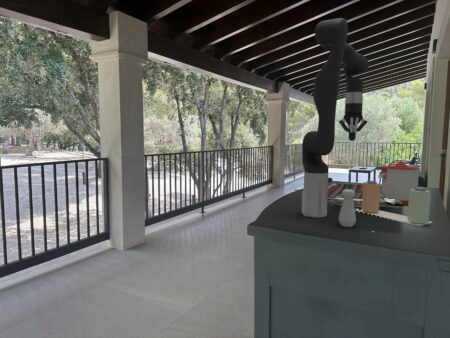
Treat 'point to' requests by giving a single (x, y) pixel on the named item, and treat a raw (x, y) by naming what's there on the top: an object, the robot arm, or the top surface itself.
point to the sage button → (419, 205)
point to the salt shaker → (347, 209)
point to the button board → (392, 217)
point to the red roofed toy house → (399, 181)
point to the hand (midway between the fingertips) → (351, 140)
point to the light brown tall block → (371, 196)
